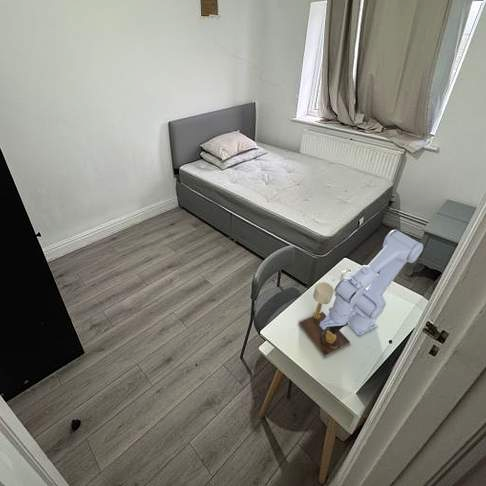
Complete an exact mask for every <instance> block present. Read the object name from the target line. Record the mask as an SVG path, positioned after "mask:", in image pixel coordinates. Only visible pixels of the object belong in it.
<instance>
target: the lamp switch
mask: <svg viewBox="0 0 486 486" xmlns="http://www.w3.org/2000/svg"><path fill="white" fill-rule="evenodd" d="M325 339H326V341H327V342H328V343H331V344H333V343H335V341H336V335H335V334H334V335H333V334H332V332H328V333H327V334H326V336H325Z"/></svg>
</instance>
